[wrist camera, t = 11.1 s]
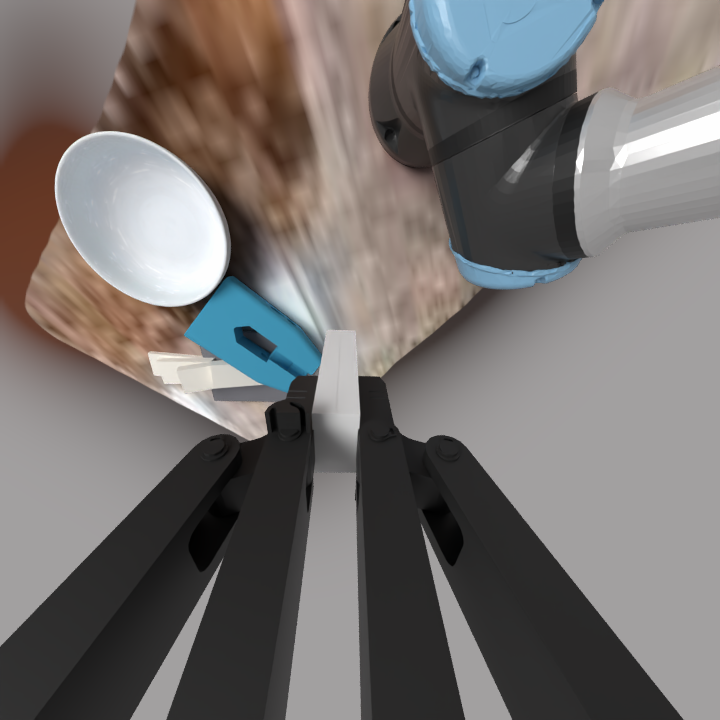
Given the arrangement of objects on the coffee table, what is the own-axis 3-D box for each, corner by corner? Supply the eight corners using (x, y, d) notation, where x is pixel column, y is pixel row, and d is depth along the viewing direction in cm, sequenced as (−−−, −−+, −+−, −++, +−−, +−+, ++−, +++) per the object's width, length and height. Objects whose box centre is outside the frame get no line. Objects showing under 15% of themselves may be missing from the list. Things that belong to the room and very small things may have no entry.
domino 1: (203, 358, 52) (147, 353, 51) (206, 379, 54) (154, 375, 53) (206, 354, 53) (153, 349, 52) (210, 375, 56) (159, 371, 55)
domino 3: (237, 361, 51) (176, 371, 48) (242, 383, 53) (184, 393, 50) (237, 357, 52) (177, 366, 49) (242, 379, 55) (186, 389, 51)
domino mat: (291, 331, 51) (290, 333, 50) (296, 399, 59) (295, 401, 58) (197, 328, 50) (195, 330, 49) (216, 398, 58) (214, 400, 57)
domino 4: (270, 362, 51) (210, 365, 47) (270, 384, 54) (213, 388, 50) (269, 358, 52) (211, 361, 49) (269, 379, 55) (214, 383, 51)
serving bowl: (85, 117, 35) (31, 98, 29) (250, 175, 39) (232, 169, 33) (107, 274, 45) (70, 284, 39) (237, 308, 48) (222, 323, 42)
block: (327, 346, 52) (235, 276, 46) (329, 354, 47) (226, 276, 41) (289, 392, 54) (195, 330, 47) (287, 404, 49) (182, 336, 42)
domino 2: (210, 362, 51) (155, 361, 50) (216, 384, 53) (164, 383, 53) (214, 357, 52) (160, 357, 51) (220, 379, 54) (169, 379, 54)
